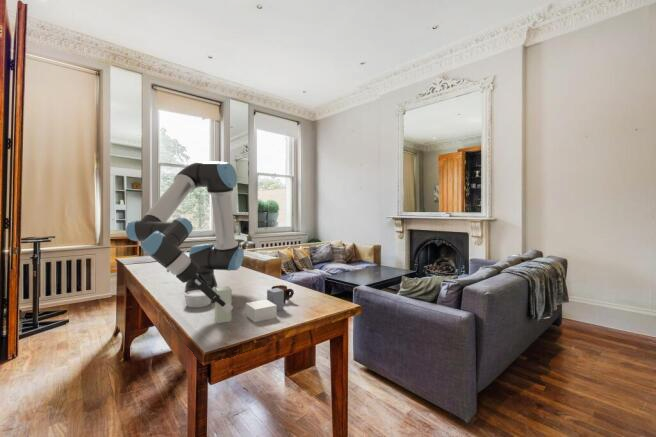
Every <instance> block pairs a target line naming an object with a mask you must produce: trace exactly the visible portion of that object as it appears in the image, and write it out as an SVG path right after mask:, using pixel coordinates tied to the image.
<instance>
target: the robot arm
mask: <svg viewBox="0 0 656 437" xmlns="http://www.w3.org/2000/svg"><path fill="white" fill-rule="evenodd" d="M237 181H238V176H237V171H236V169H235V167H234V166H233V164H231V163H230V162H227V161H226V162H225V161H196V162H194V163H191V164H189V165H187V166H185V167H184V168H183V169H181V170H180V171H179V172H178V173H177V174H176V175H175V176H174V177H173V183H171V185H170V186H169V187H168V188H167V189H166V190H165V191H164V193H162V194H161V196H160V197H159V198H158V200H156V202H155V203H154V204H153V205H152V206H151V207H150V209H149V210H148V211H147V212H146V214H144V216H143V217H142V218H141V219H140V220H132V221H131V222H129V223H128V224H127V226H126V229H125V235H126V237H127V238H128V239H129V240H131V241H134V242H141V243H140V247H141V249H142V250H143V251H144V252H145V253H146V254H147V255H148V256H150V257H151V258H152V259H153V260H154V261H156V262H158V264H160V265H161V266H162V267H163V268H165V270H166V273H171V274H172V275H173V276H175V278H176V279H178V280H179V281H181V283H183V284H184V283H185V288H184V291H185V293H186V292H189V291H193V290H201V291H202V292H203V293H204V294H205V295H206V296H207V297H209V298H210V299H211V303H210V304H212V305H215V303H216V304H217V305H218V306H220V307H221V308H222V309H223V310H224V311H226V312H227V313H229V312H230V311H231V312H232V310H233V308H234V306H233V305H232V304H231V305H230V304H229V303H228V302H227V301H226V300H224V299H223V298H222V297H221V296H219V295H218V294H217V293H216V292H215V288H216V287H218V282H217V279H216V276H215V270H216V271H228V272H230V271H237V270H240V267H241V265H242V264H243V260H244V255H245V254H244V253H245V251H244V248H243V247H240V246H239V242H238V241H236V240H235V228H234V219H233V208H232V206H233V205H232V198H231V193H232V192H233V191H234V188H235V187H237V185H238V182H237ZM197 188H206V190H207V191H206V192H207V193H208V194H209V195H211V205H212V213H213V221H214V228H215V230H214V231H215V239H216V242H215V243H201V244H196V245H192V246H190V248H189V255H187V254H186V253H185V252H184V251H183V250H181V249H180V246H181V245H182V244H183V243H184V241H185V240H186V239H187V238H189V236H190V234H191V233H192V232H193V224H192V222H191V221H190V220H189V219H188V218H186V217H181V216H180V217H177V218H175V219H174V220H172V221H171V222H170V221H168V220H169V219H170V218H171V216H172V215H173V214H174V213H175V211H176V210H177V209H178V208H179V206H180V205H181V204H182V202H183V201H184V200H185V199H186V197H187V196H188V195H189V194H190V193H192V192H194V191H195V190H196V189H197Z"/></svg>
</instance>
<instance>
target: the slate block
mask: <svg viewBox="0 0 656 437" xmlns="http://www.w3.org/2000/svg"><path fill="white" fill-rule="evenodd" d="M266 290H267V291H266V300H268V301H270V302H272V303H273V304H275V305H277V311H282V310H284V305H285V303H284V290H281V289H279V288H274V289H272V288H270V289H266Z"/></svg>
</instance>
